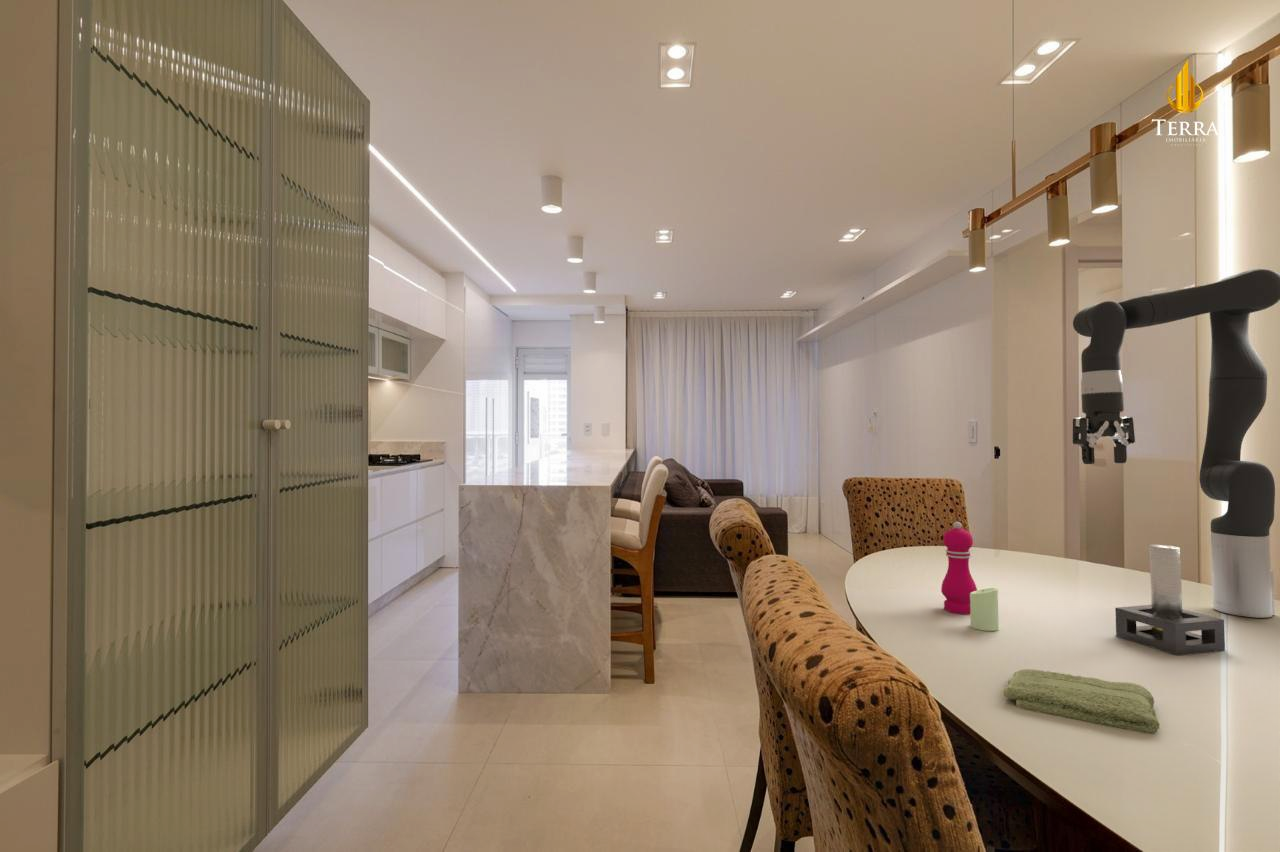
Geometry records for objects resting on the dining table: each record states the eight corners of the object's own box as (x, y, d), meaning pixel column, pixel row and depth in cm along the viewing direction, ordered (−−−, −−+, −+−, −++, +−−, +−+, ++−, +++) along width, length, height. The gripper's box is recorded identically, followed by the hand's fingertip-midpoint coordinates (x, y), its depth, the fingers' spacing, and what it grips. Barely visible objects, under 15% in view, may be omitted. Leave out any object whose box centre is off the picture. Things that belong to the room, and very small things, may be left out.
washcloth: (1011, 679, 99) (1011, 659, 99) (1153, 706, 88) (1152, 684, 89) (1002, 708, 88) (1002, 685, 88) (1162, 742, 78) (1161, 717, 78)
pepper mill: (969, 606, 140) (967, 519, 141) (983, 615, 133) (981, 523, 134) (936, 605, 141) (934, 519, 141) (949, 614, 134) (947, 523, 134)
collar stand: (1161, 631, 121) (1160, 603, 121) (1224, 650, 110) (1223, 619, 110) (1116, 635, 118) (1115, 607, 118) (1176, 655, 108) (1175, 624, 108)
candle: (967, 628, 124) (966, 587, 125) (974, 622, 128) (973, 583, 128) (995, 633, 121) (994, 591, 121) (1001, 627, 125) (1000, 587, 125)
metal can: (1164, 637, 117) (1161, 544, 117) (1190, 645, 112) (1187, 548, 113) (1145, 639, 116) (1142, 545, 116) (1170, 647, 111) (1167, 549, 112)
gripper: (1090, 390, 132) (1093, 465, 132) (1144, 390, 135) (1147, 463, 134) (1060, 393, 139) (1063, 464, 139) (1111, 393, 142) (1114, 462, 142)
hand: (1104, 463), depth 137 cm, fingers open, 8 cm apart
